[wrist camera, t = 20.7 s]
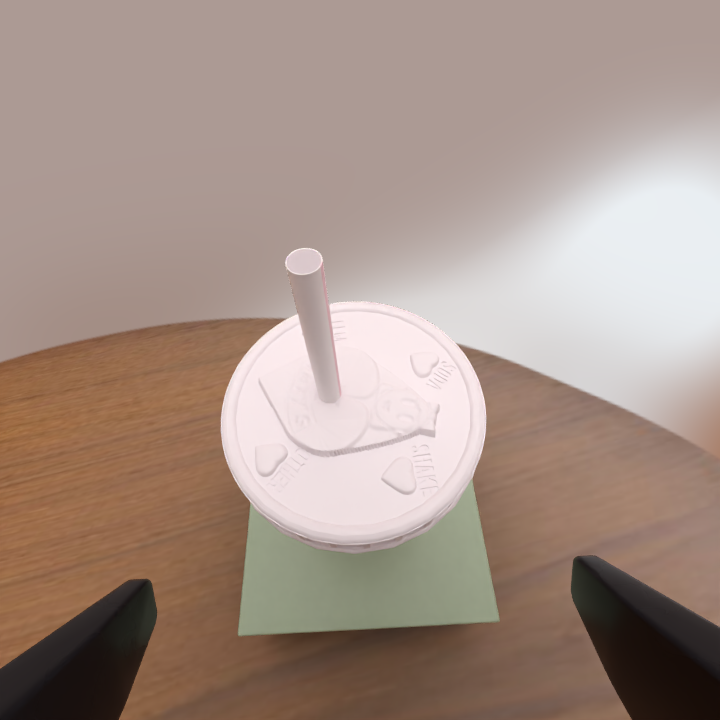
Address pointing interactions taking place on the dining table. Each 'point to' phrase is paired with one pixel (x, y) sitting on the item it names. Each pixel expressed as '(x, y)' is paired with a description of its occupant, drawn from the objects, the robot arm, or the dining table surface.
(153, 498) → the dining table surface
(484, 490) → the dining table surface
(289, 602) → the green box
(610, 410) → the dining table surface
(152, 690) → the dining table surface
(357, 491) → the smoothie
